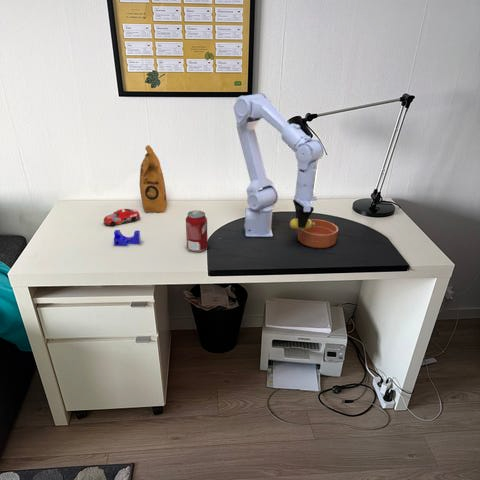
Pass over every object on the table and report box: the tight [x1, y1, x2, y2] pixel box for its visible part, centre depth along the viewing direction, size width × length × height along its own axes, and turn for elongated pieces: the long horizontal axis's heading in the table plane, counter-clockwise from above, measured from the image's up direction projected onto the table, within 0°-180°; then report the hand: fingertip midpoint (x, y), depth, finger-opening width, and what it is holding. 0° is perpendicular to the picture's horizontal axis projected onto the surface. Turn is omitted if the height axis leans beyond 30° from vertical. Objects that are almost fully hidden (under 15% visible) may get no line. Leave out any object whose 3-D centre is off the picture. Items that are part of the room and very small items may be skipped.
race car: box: [103, 208, 141, 227], centre depth 158 cm, size 13×5×4 cm, turn 123°
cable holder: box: [113, 229, 142, 247], centre depth 144 cm, size 8×4×4 cm, turn 90°
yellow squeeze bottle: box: [289, 217, 315, 230], centre depth 141 cm, size 8×3×3 cm, turn 92°
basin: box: [296, 218, 339, 249], centre depth 150 cm, size 13×13×5 cm
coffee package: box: [139, 144, 168, 213], centre depth 165 cm, size 10×12×22 cm
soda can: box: [185, 210, 208, 253], centre depth 140 cm, size 7×7×12 cm
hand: (300, 224), depth 141 cm, fingers closed on yellow squeeze bottle, 3 cm apart
